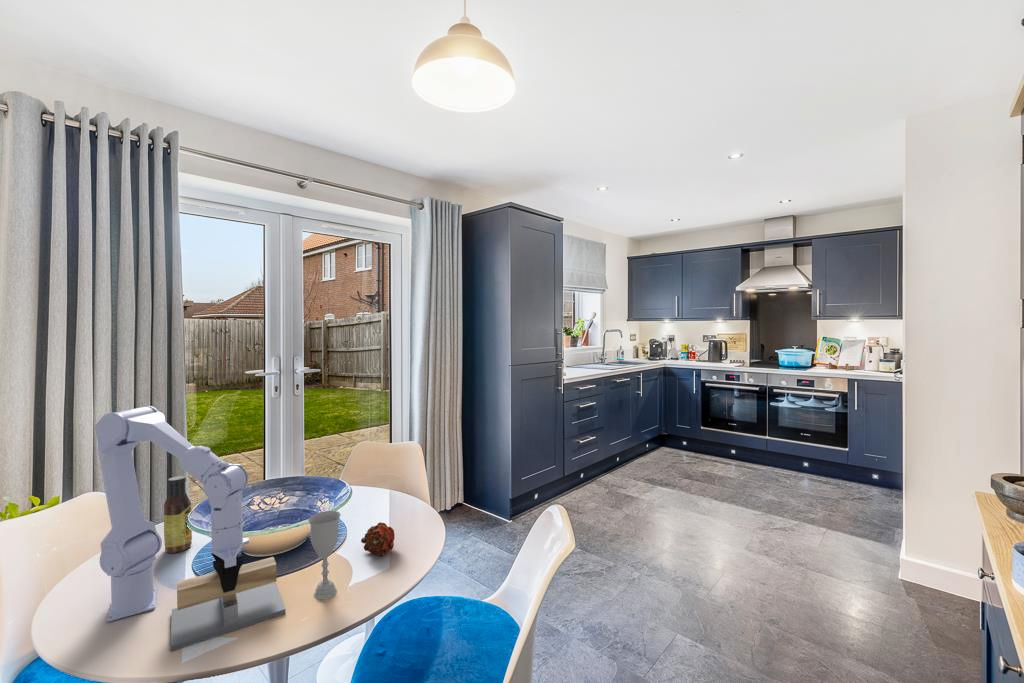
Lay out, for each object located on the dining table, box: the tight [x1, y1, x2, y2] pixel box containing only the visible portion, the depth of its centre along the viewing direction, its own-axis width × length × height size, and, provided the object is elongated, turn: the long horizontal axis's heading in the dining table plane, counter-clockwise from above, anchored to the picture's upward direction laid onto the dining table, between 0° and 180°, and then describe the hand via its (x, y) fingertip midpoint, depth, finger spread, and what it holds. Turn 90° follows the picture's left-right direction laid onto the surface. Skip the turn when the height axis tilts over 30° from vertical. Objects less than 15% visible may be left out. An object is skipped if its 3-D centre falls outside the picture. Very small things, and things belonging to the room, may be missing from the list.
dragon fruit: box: [360, 522, 395, 557], centre depth 127 cm, size 8×8×12 cm
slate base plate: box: [170, 582, 286, 652], centre depth 99 cm, size 14×20×1 cm
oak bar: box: [176, 556, 278, 610], centre depth 99 cm, size 4×18×4 cm, turn 126°
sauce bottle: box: [163, 475, 193, 554], centre depth 128 cm, size 7×6×20 cm
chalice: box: [307, 510, 341, 600], centre depth 107 cm, size 7×7×18 cm
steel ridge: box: [220, 594, 238, 627], centre depth 99 cm, size 13×2×4 cm, turn 36°
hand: (228, 585), depth 99 cm, fingers open, 4 cm apart
